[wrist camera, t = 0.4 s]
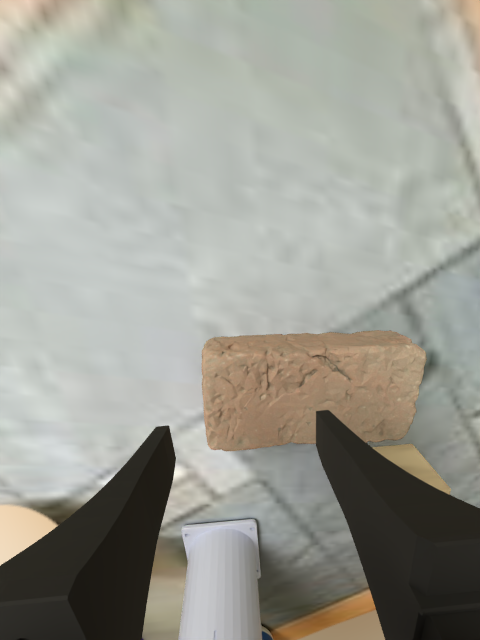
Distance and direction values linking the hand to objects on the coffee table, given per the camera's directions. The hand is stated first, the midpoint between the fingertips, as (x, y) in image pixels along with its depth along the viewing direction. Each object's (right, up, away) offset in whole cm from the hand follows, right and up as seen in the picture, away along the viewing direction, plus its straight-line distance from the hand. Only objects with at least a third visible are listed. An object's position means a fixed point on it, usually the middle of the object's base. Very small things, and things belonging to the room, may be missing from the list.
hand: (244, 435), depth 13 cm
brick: (+5, +1, +11) cm, 12 cm away
